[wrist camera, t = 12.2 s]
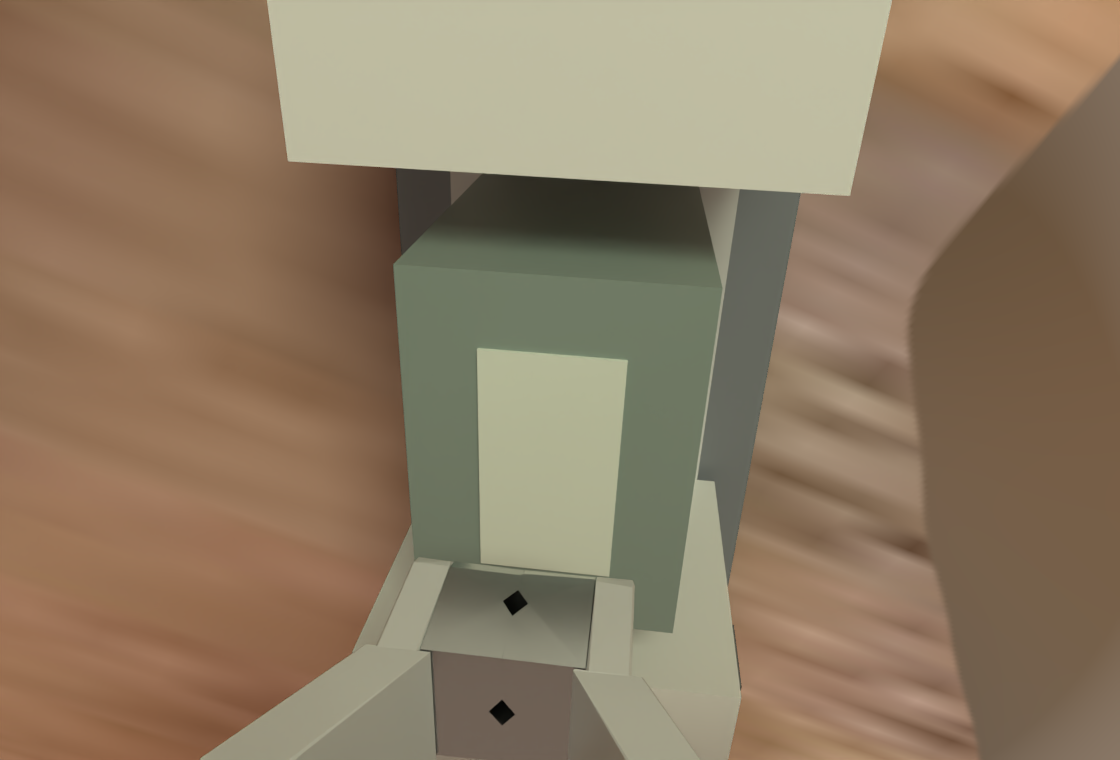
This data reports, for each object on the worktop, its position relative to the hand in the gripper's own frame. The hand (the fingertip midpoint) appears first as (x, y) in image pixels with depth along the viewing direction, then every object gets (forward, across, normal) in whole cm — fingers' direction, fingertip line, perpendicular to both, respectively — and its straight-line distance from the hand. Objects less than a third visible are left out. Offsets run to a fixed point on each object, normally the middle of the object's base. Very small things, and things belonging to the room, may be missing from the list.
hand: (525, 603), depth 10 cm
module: (+10, 0, 0) cm, 11 cm away
